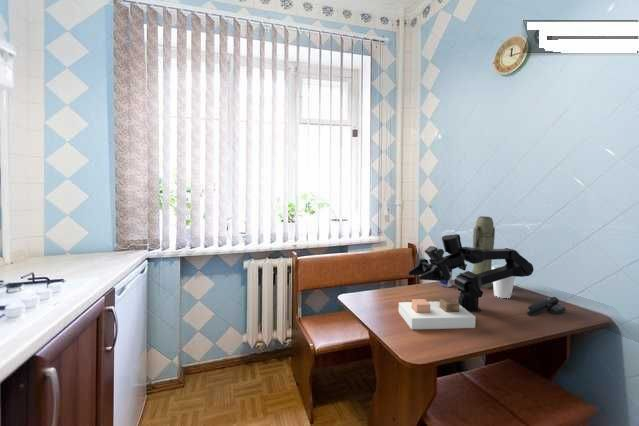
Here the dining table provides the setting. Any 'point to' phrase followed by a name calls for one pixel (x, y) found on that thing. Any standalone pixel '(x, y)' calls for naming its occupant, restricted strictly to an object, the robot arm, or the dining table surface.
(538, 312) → the can opener
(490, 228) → the thermos
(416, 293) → the dining table surface
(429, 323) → the key panel
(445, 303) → the walnut key
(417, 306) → the terracotta key
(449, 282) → the energy drink
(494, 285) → the foam cup
